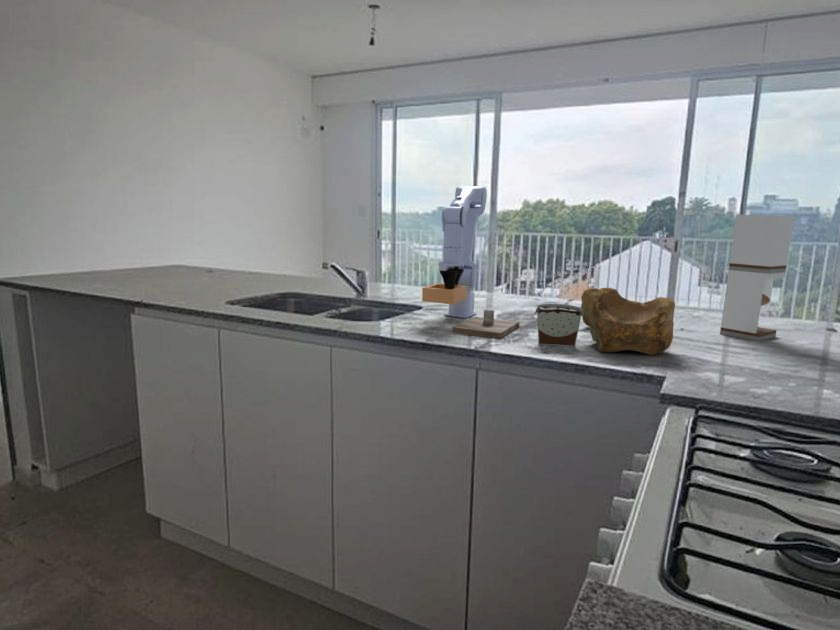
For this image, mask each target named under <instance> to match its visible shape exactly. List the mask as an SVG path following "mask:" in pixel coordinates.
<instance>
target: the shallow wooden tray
mask: <svg viewBox="0 0 840 630" xmlns="http://www.w3.org/2000/svg"><path fill="white" fill-rule="evenodd" d="M421 290H422V294H421V295H422V296H421V297H422V298H421V301H422V302H426V303H436V304H446V305H449V304H453V305H454V304H456V303H459V302H461V301H463V300H466V299H467V286H463V285H455V287H454V289H452V290H451V289H445V285H444V283H440V282H436V283H432V284H430V285H427V286H424V287H422V289H421Z"/></svg>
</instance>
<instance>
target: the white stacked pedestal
mask: <svg viewBox="0 0 840 630" xmlns="http://www.w3.org/2000/svg"><path fill="white" fill-rule="evenodd" d="M794 220H795V216H793V215H789V216H788V215H767V214H735V221H734V228H733V235H732V243H731V250H730V257H729V264H728V272H727V279H726V287H725V295H724V300H723V308H722V316H721V322H720V330H719V334H720V335H724V336H729V337H734V338H738V339H739V338H740V339H746V340H751V341H755V342H761V341H764V340H769V339H772V338H776V337H777V329H771V328H766V327H761V326H758V325H759V320H760V313H761V307H762V306H766V305H767V304H769V303H770V302H771V299H772V293H773V284H774V279H780V278H785V277H786V272H787V266H788V259H789V253H790V248H791V247H790V246H791V240H792V234H793V228H794Z"/></svg>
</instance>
